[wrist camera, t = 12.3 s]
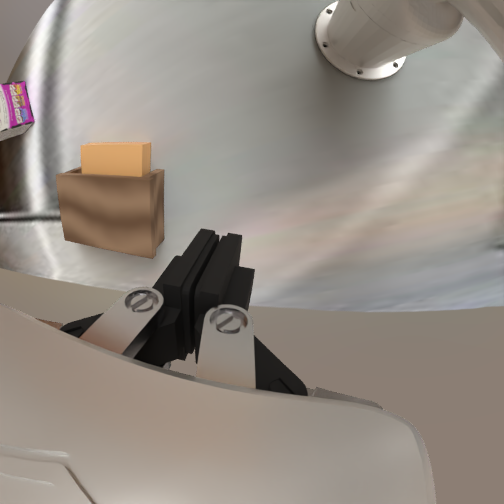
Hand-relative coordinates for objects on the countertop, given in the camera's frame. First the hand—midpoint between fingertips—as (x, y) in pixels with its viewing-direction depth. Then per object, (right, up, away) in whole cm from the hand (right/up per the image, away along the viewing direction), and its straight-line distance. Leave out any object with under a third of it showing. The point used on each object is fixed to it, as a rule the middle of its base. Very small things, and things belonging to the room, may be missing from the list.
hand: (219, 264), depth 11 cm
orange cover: (-20, +11, +28) cm, 36 cm away
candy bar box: (-45, +30, +22) cm, 58 cm away
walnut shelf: (-20, +10, +29) cm, 36 cm away
